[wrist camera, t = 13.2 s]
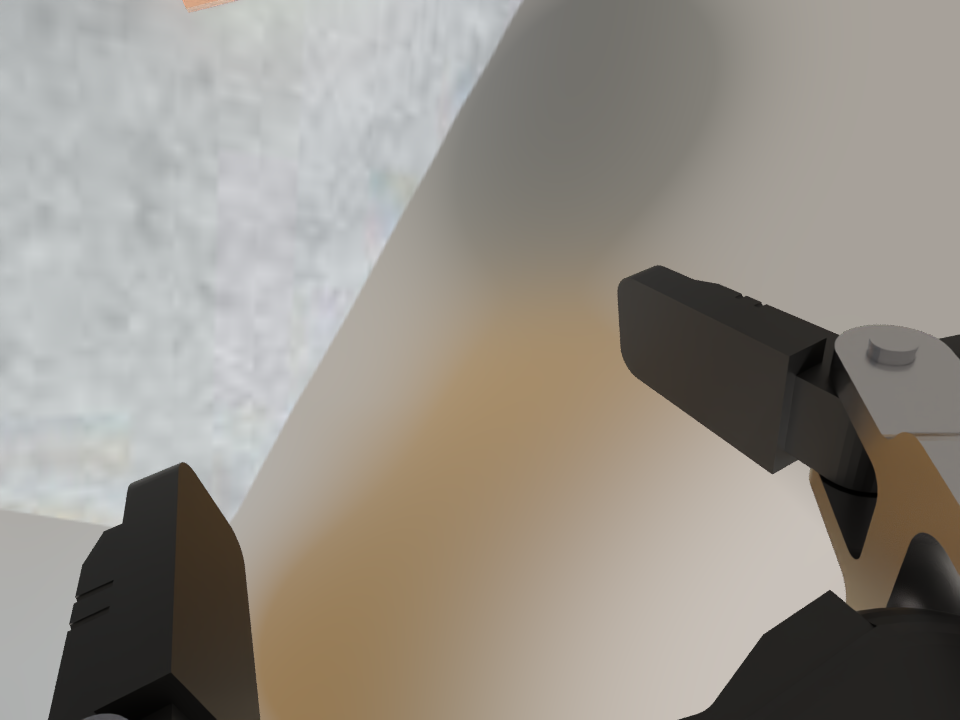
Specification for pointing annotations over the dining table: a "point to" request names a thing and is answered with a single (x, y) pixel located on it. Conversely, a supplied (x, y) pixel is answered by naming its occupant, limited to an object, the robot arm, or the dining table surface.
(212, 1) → the orange square frame
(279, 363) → the dining table surface
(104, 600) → the robot arm
